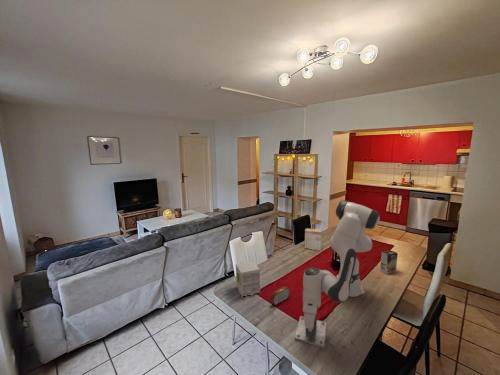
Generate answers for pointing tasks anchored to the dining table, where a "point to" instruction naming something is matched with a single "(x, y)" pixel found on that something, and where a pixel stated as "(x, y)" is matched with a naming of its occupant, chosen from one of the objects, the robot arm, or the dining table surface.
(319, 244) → the coffeecake box
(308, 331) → the labeled dark box
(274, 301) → the tin
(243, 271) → the supplement box
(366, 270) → the dining table surface
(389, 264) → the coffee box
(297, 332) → the hub plate
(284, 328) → the dining table surface
